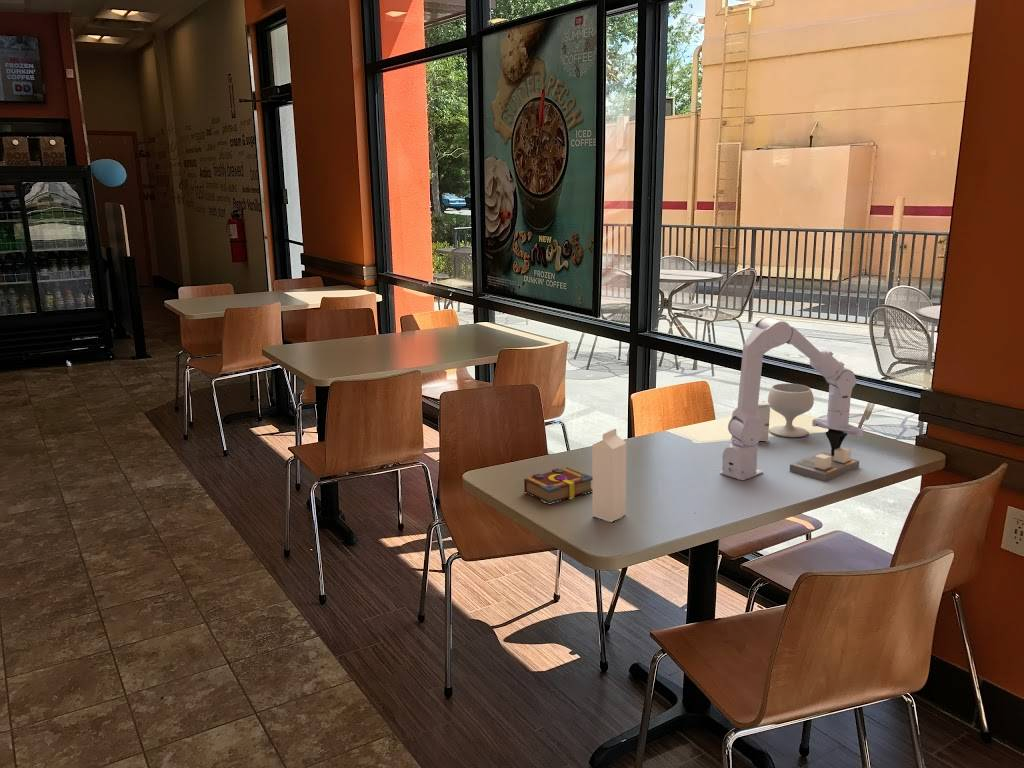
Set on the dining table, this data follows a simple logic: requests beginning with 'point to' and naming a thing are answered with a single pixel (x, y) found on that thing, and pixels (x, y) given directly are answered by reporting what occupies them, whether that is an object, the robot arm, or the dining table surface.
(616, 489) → the milk
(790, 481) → the dining table surface
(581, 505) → the dining table surface
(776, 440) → the dining table surface
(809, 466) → the switch board
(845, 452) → the cream cube
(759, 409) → the skincare box
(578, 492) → the decorative book
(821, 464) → the cream white cube
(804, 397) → the chalice
